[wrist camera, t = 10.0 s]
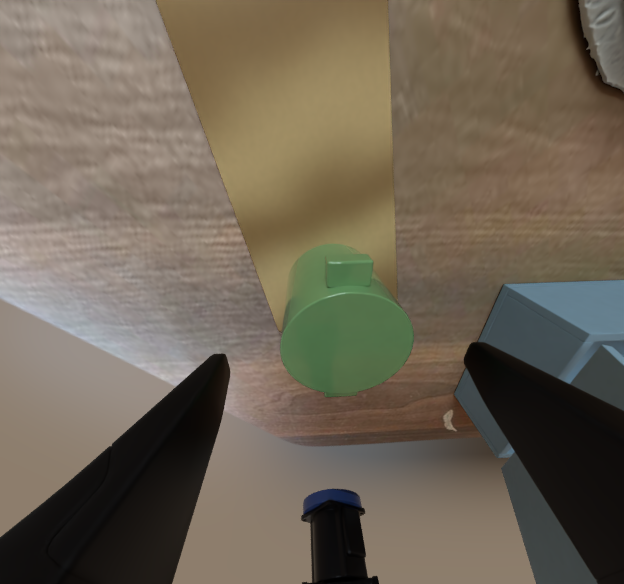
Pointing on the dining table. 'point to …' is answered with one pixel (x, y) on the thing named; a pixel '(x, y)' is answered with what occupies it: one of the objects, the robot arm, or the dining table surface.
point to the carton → (546, 337)
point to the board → (295, 124)
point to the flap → (531, 504)
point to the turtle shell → (605, 37)
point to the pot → (341, 323)
